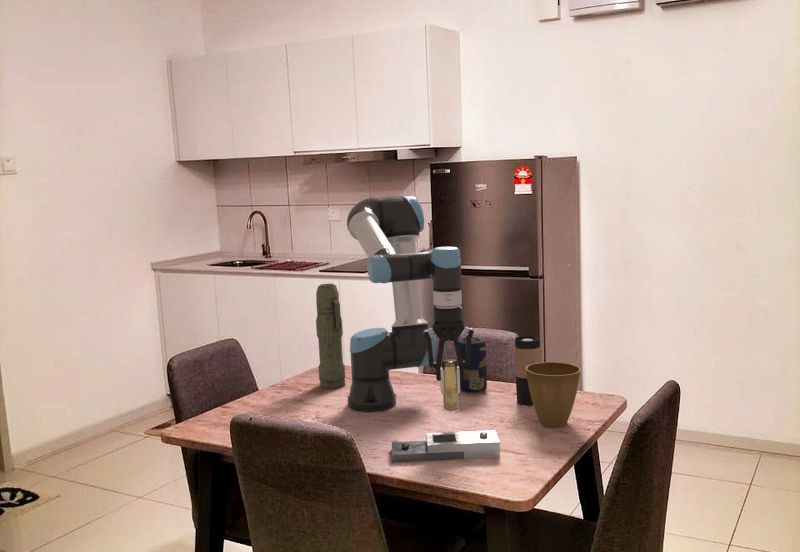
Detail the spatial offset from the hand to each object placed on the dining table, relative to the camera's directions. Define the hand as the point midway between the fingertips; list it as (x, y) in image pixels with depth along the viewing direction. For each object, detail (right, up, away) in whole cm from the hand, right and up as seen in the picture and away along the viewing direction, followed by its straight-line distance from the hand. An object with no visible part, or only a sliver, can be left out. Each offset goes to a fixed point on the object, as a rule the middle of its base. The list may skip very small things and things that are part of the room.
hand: (450, 391), depth 211 cm
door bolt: (-2, -14, -10) cm, 18 cm away
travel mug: (+26, -8, +29) cm, 40 cm away
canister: (+10, -7, +45) cm, 47 cm away
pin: (0, -5, +1) cm, 5 cm away
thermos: (-37, -7, +59) cm, 70 cm away
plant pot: (+30, -11, +9) cm, 33 cm away
